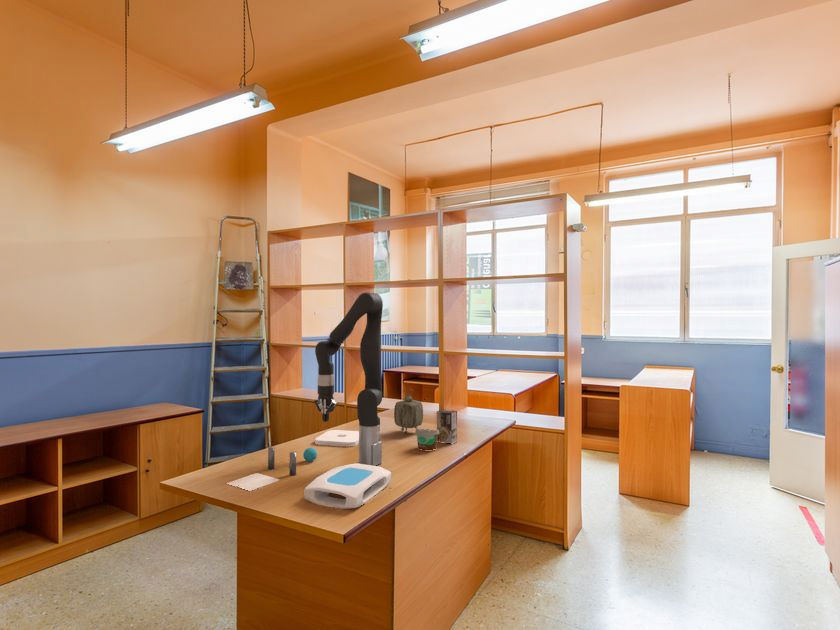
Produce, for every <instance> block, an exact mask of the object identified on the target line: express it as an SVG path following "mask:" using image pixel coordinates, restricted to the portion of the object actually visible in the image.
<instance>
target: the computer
mask: <svg viewBox="0 0 840 630" xmlns="http://www.w3.org/2000/svg"><path fill="white" fill-rule="evenodd" d="M358 443H359V430H343V429H331V430H330V429H329V430H327V431H326V432H323V433H322V434H321V435H318V436H317V437H316V438H315V439H314V444H315V445H317V444H318V445H317V446H328V445H330V446H332V447H343V446H346V447H345V448H351V447H350V446H353V447H356V446H357V444H358ZM358 445H359V444H358ZM347 446H348V447H347Z"/></svg>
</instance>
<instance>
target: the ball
mask: <svg viewBox="0 0 840 630" xmlns="http://www.w3.org/2000/svg"><path fill="white" fill-rule="evenodd" d="M302 456H303V459H304V460H305V461H306V462H308V463H311V462H314V461H316V458H317V456H318V452H317V450H316V448H314V447H308V448H306V449H305V450H304V451H303V454H302Z"/></svg>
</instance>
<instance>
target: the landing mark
mask: <svg viewBox="0 0 840 630" xmlns="http://www.w3.org/2000/svg"><path fill="white" fill-rule="evenodd" d="M278 481H280V479H279V478H276V477H271V476H269V475H265V474H261V473H258V472H256V473H255V472H254V473H252V474H250V475H246V476H244V477H240V478H238V479H235V480H232V481H230V482H227V483H225V484H226V485H228V484H229V485H228V486H231V485H232V486H231V487H234V486H235V487H234V488H237V487H236V486H238V485H239V486H238V487H240V488H242V489H241V490H243V489H245V490H244V491H246V490H248V491H247V492H249V491H250V492H253V491H256V490H257V488H258V489H261V488H263V487H265V486H268V485H271V484H275V483H276V482H278ZM240 488H239V489H240ZM252 490H253V491H252Z"/></svg>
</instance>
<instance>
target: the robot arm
mask: <svg viewBox="0 0 840 630" xmlns="http://www.w3.org/2000/svg"><path fill="white" fill-rule="evenodd" d="M383 305H384V303H383V299H382V296H381V295H380V294H378V293H375V292H368V291H367V292H363V293H361V294H360V295H358V297H356V299H355V300H354V302H353V304H352V305H351V307H350V309H349V310H348V312H347V313H346V314H345V316H344V317H343V319H342V320H341V321H339V323H338V324H337V326H336V327H334V329H332V330H331V332H330V334H329V339H328V340H326V341H318V343H317V344H316V345H315V348H314V349H315V350H314V353H315V357H316V361H317V364H318V370H317V372H318V376H317V395H318V397H317V399H315V400H314V405H315V407H316V409H317V410H318V412H320V413H322V414H321V415H322V416H321V418H322V422H324V423H326V422H329V421H330V413H333V411H334V410H335V409H336V407H337V405H338V402H337V401H335V400H334V394H335V371H334V370H335V366H334V363H333V361H331V360H330V358H329V357H330V356H334V355H335V354H337V352H338V351H339V350H340V348H341V346H342V344H343V342H345V341H346V340H347V339H348V337H349V336H350V335H351V334H352V333H353V331H354V328H355V326H356V324H357V322H358V321H359V320H360V319H361V318H363V317H364V316H365V315H366V324H365V328H364V332H363V334H362V337H361V339H360V344H359V346H360V347H359V353H360V355H359V357H360V362H361V366H362V369H363V373H364V389H362V390H361V391H359V393H358V395H357V399H356V400H357V401H356V406H357V407H356V412H357V420H358V431H359V444H358V464H365V465H372V466H376V465H377V466H379V465H381V464H382V462H383V459H382V457H383V454H382V452H383V451H382V449H383V446H382V445H383V442H382V441H381V418H380V417H379V415H378V406H380V404H381V403H382V401H383V390H382V389H383V388H382V387H383V386H382V380H381V379H382V378H381V375H382V374H381V371H382V318H383V317H382V316H383ZM380 463H381V464H380ZM378 464H379V465H378Z"/></svg>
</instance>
